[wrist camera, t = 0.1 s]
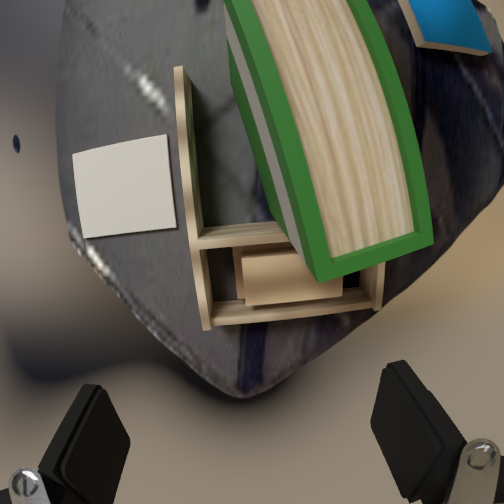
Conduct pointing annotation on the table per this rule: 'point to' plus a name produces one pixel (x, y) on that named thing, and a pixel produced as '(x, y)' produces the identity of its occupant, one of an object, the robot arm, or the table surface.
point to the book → (446, 25)
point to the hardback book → (329, 131)
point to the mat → (125, 187)
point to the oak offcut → (282, 278)
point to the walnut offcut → (238, 261)
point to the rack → (247, 234)
